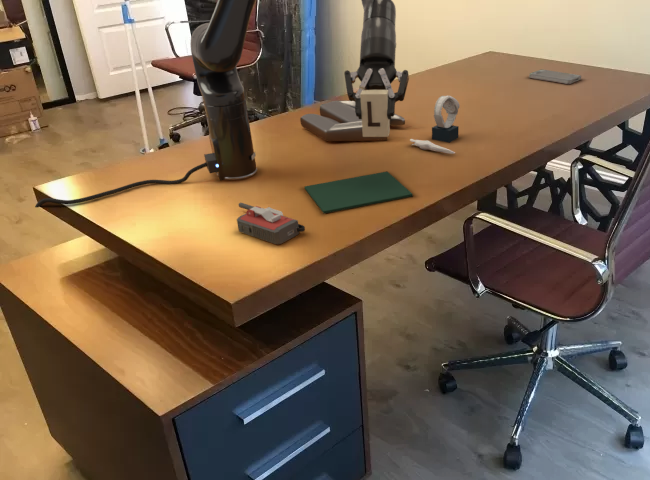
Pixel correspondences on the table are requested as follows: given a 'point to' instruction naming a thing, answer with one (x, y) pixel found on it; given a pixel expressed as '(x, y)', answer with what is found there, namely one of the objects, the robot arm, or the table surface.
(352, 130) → the emblem
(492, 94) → the table surface
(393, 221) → the table surface
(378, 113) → the cream letter block
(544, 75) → the phone case
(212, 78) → the robot arm
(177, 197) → the table surface
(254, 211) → the walkie-talkie
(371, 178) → the desk pad
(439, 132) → the watch
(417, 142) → the white pointed spike
